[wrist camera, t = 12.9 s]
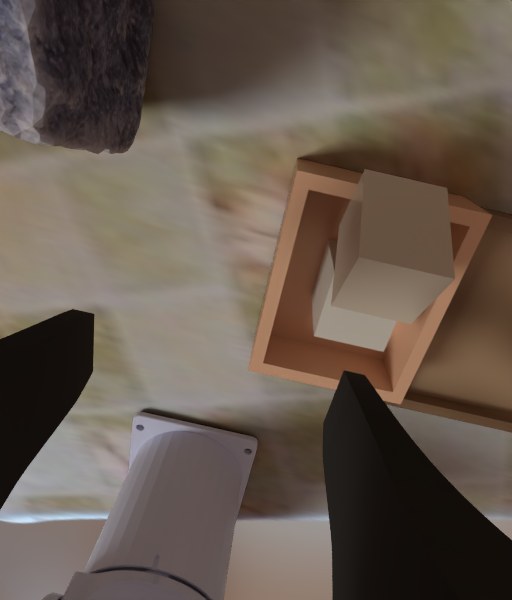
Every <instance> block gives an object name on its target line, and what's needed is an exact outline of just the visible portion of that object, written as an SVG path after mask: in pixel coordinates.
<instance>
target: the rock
mask: <svg viewBox="0 0 512 600" xmlns="http://www.w3.org/2000/svg"><path fill="white" fill-rule="evenodd" d="M153 18H154V8H153V0H0V130H1V131H3V132H5V133H8V134H10V135H12V136H15V137H17V138H19V139H22V140H25V141H28V142H31V143H34V144H38V145H47V146H61V147H65V148H70V149H80V150H87V151H90V152H93V153H96V154H99V153H100V152H102V151H106V152H108V153H111V154H113V153H124V152H126V151H128V149H129V148H130V146H131V145H132V143H133V141H134V138H135V135H136V133H137V130H138V128H139V125H140V119H141V111H142V101H143V96H144V93H145V81H146V77H147V73H148V53H149V51H150V42H151V37H152V31H153Z"/></svg>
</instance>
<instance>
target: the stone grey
mask: <svg viewBox="0 0 512 600" xmlns="http://www.w3.org/2000/svg"><path fill="white" fill-rule="evenodd" d="M337 243H338V241H335V240H330V239H328V241H327V244H326V247H325V251H324V254H323V257H322V261H321V264H320V267H319V271H318V274H317V277H316V281H315V284H314V287H313V291H312V294H311V296H312V312H313V329H314V336H315V337H320V338H324V339H328V340H333V341H337V342H342V343H346V344H351V345H355V346H360V347H364V348H369V349H373V350H377V351H382V352H384V350H385V348H386V345H387V343H388V340H389V338H390V336H391V333H392V331H393V329H394V326H395V324H396V322H397V321H394V320H390V319H386V318H381V317H377V316H372V315H368V314H364V313H359V312H355V311H350V310H346V309H342V308H337V307H333V306H331V300H332V291H333V281H334V272H335V262H336V253H337Z"/></svg>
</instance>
